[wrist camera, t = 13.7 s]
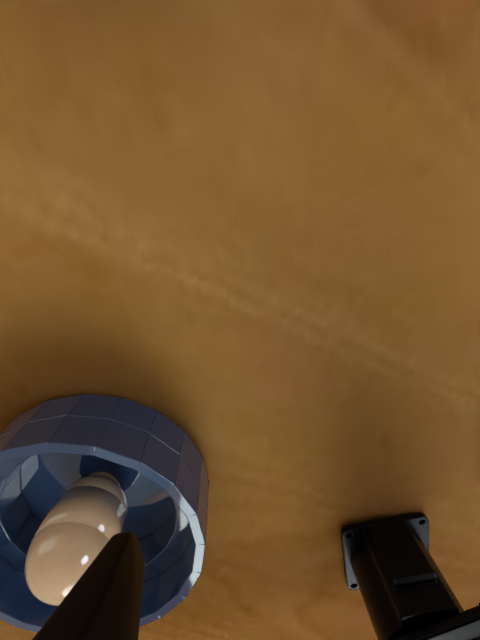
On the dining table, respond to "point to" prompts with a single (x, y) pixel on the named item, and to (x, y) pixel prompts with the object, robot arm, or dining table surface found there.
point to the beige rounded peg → (73, 535)
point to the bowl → (134, 478)
